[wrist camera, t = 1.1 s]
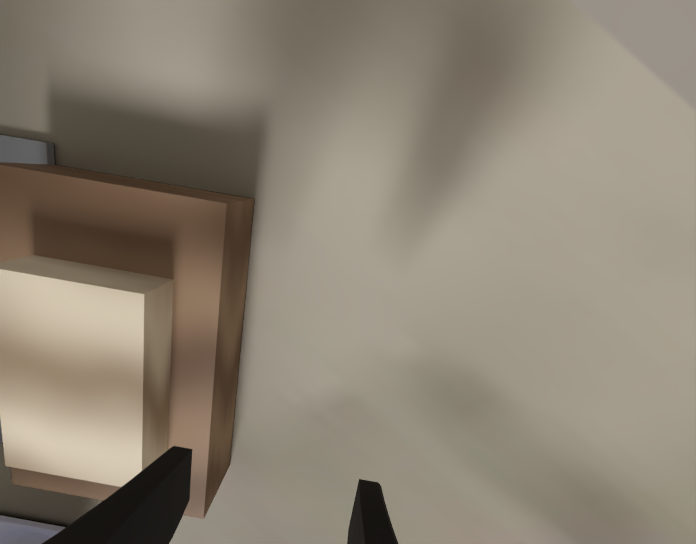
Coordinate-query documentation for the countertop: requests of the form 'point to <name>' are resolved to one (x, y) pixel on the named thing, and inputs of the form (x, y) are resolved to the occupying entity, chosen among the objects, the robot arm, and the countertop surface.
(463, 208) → the countertop surface
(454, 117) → the countertop surface
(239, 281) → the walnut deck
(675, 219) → the countertop surface
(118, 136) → the countertop surface
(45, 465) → the birch tile
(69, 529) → the robot arm
